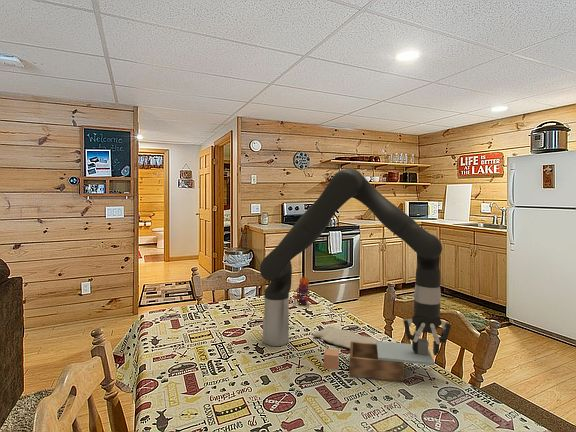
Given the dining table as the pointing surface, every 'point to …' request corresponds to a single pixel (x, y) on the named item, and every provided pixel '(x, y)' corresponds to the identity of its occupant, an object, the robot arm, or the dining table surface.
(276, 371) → the dining table surface
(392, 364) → the brown wooden box
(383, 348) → the lid
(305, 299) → the figurine
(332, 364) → the cube
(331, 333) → the stone tool
